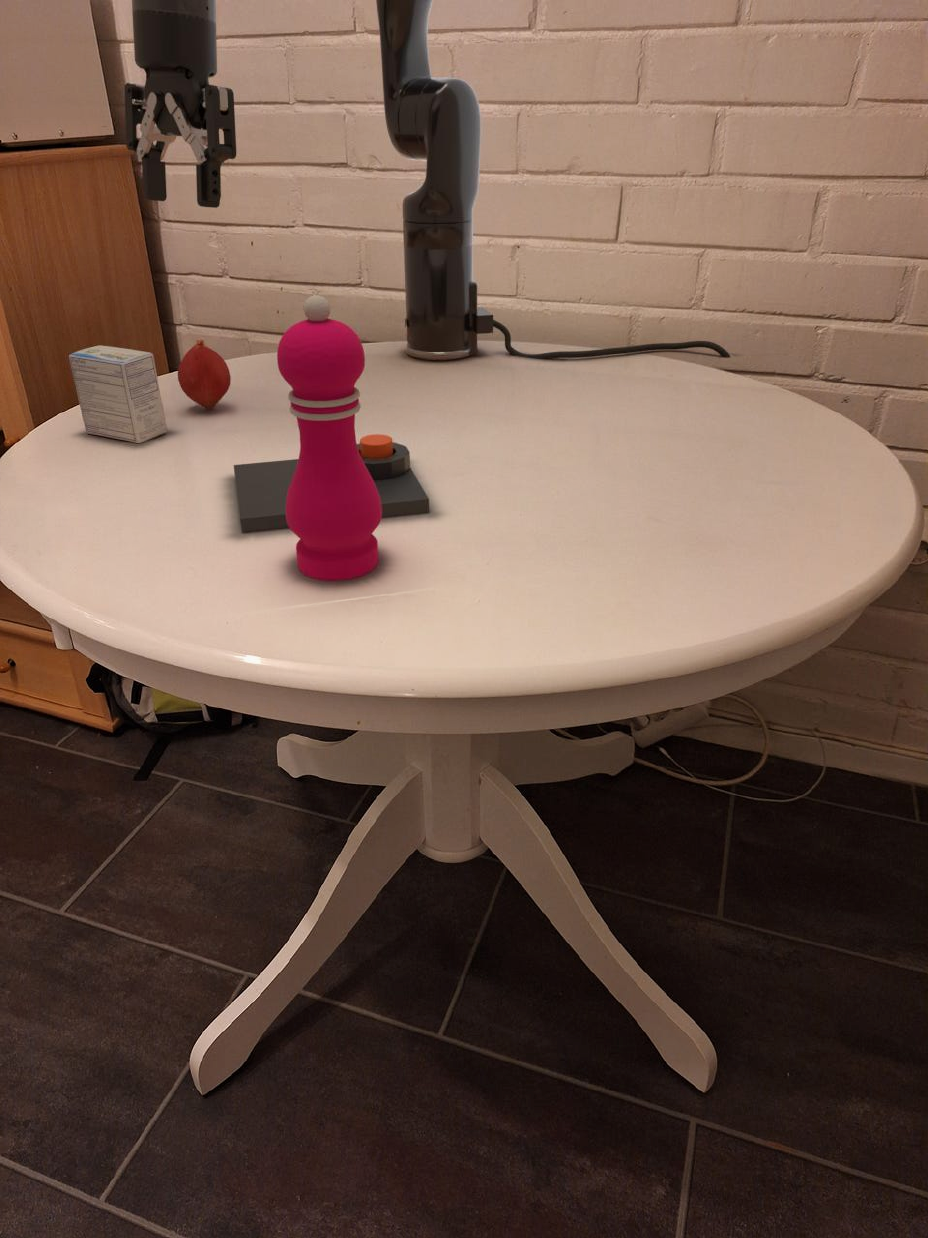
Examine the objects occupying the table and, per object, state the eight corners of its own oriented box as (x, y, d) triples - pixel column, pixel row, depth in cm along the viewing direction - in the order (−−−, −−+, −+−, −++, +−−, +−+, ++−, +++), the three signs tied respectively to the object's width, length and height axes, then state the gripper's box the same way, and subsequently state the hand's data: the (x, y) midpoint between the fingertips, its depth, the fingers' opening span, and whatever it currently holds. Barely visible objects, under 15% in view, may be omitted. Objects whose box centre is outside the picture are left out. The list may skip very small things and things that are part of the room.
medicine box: (169, 433, 98) (155, 352, 94) (138, 445, 95) (122, 361, 90) (116, 422, 101) (100, 343, 97) (84, 434, 98) (66, 352, 94)
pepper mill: (301, 542, 74) (273, 285, 64) (389, 543, 74) (375, 285, 64) (283, 584, 68) (249, 306, 58) (379, 585, 68) (362, 306, 57)
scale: (400, 462, 90) (399, 433, 88) (429, 513, 79) (428, 481, 77) (235, 478, 86) (231, 448, 85) (242, 534, 75) (237, 500, 74)
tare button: (389, 448, 86) (389, 432, 85) (395, 459, 83) (395, 443, 82) (358, 451, 85) (357, 435, 84) (363, 462, 83) (362, 446, 82)
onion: (172, 412, 105) (160, 341, 101) (206, 398, 109) (196, 330, 105) (211, 419, 102) (200, 347, 98) (244, 405, 107) (235, 335, 103)
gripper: (256, 20, 84) (257, 211, 91) (162, 23, 91) (169, 200, 98) (189, 2, 78) (195, 207, 85) (94, 7, 86) (107, 195, 93)
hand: (181, 203), depth 92 cm, fingers open, 8 cm apart
